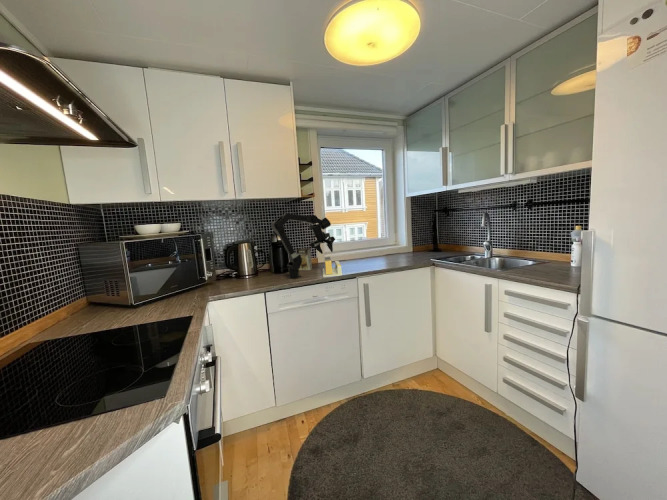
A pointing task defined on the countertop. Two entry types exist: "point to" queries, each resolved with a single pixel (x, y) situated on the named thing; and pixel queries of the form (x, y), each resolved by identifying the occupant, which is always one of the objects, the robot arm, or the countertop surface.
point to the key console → (334, 270)
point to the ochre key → (328, 267)
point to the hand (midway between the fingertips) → (327, 252)
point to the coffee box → (305, 259)
